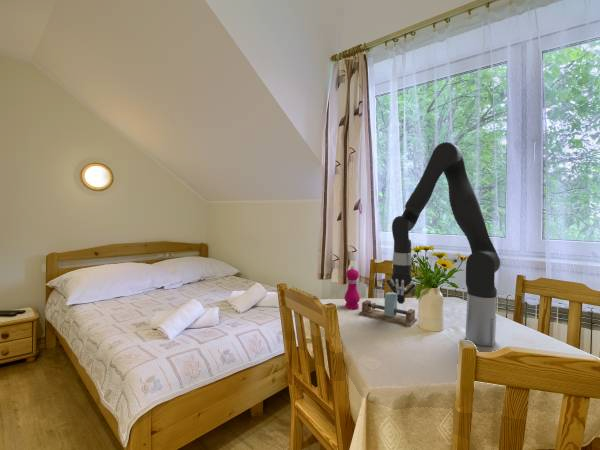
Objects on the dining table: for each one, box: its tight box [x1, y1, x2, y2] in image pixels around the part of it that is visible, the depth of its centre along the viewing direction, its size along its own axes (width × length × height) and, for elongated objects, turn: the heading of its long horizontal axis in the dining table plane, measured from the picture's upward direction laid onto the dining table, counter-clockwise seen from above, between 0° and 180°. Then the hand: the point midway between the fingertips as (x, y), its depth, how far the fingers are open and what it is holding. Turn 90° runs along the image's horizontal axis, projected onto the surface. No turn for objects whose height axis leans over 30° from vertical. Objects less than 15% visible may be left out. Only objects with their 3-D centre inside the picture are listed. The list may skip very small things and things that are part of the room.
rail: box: [358, 299, 418, 327], centre depth 141 cm, size 23×8×5 cm, turn 53°
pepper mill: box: [344, 266, 361, 310], centre depth 155 cm, size 7×7×20 cm
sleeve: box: [383, 291, 398, 317], centre depth 140 cm, size 4×4×9 cm
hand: (400, 303), depth 138 cm, fingers closed
